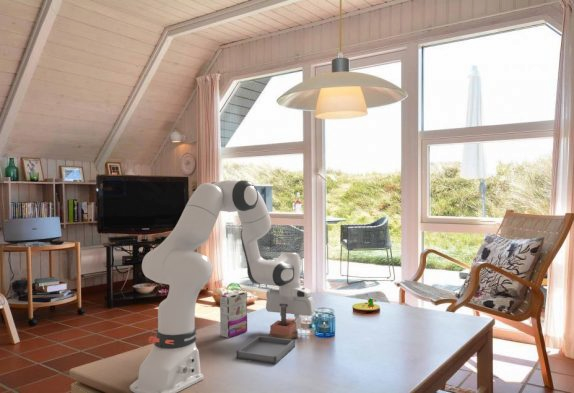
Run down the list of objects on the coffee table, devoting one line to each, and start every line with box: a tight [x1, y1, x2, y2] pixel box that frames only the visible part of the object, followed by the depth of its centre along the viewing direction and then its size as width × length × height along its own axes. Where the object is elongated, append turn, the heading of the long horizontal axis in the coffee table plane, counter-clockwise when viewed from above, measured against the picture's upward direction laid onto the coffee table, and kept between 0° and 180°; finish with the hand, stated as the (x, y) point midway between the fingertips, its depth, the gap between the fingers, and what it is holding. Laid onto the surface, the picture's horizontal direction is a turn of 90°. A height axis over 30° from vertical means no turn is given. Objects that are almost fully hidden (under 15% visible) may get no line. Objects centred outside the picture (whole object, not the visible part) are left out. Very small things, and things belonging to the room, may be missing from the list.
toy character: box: [364, 298, 378, 308], centre depth 220 cm, size 11×12×7 cm
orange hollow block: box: [269, 317, 298, 336], centre depth 183 cm, size 12×8×3 cm, turn 159°
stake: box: [269, 304, 298, 340], centre depth 181 cm, size 11×11×13 cm
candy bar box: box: [219, 290, 248, 339], centre depth 184 cm, size 11×5×16 cm, turn 143°
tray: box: [235, 335, 296, 365], centre depth 163 cm, size 19×15×2 cm
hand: (289, 324), depth 187 cm, fingers closed on orange hollow block, 2 cm apart
